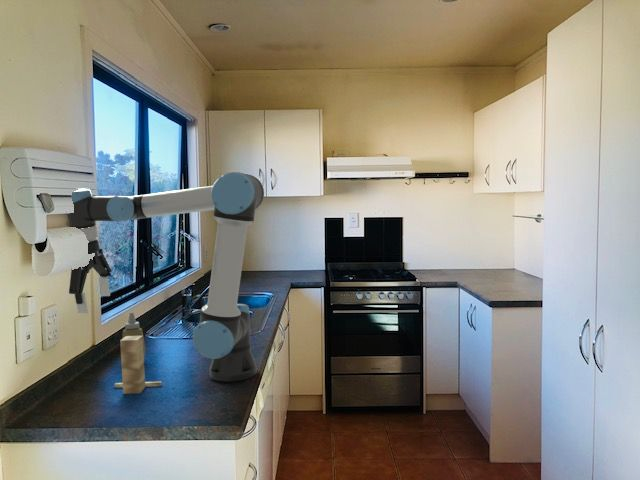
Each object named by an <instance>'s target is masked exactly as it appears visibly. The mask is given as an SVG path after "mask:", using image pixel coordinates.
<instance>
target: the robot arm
mask: <svg viewBox="0 0 640 480" xmlns="http://www.w3.org/2000/svg"><path fill="white" fill-rule="evenodd" d="M77 189H78V190H76V191H74V192H72V195H71V198H72V201H73V204H74V213H70V214H67V213H66V216H67V221H68V228H69V227H76V228H78V229H80V230H81V231H82V232H84V234H85V235H86V238H87V240H88V241H89V243H88V254H92V253H95V256H94V257H93V260H92V259H90V261H89V264H88V265H87V266H85V267H82V268H81V267H79V268H78V269H74V270H72V269H71V272H70V280H69V288H68V294H70V295H74V298H75V303H76V307H77V308H76V309H77V313H78V314H88V312H89V311H88V305H87V300H86V298H87V297H86V292H83V291H84V288H85V284H86V280H87V276H88V274H89V273H90V270H92V269H93V270H94V271H95V272H96V273H97V274H98V275H99V276H98V283H99V288H100V296H101V297H110V296H111V291H110V286H109V285H110V283H109V279H108V278H109V277H111V276H112V275H111V274H112V273H111V272H112V269H111V267H110V265H109V262H108V261H107V259H106V256H105V255H104V250H103V248H100V243H99V238H98V237H99V235H98V229H97V224H96V223H97V222H116V223H117V222H128V221H135V220H137V221H138V220H141V219H148V218H149V219H150V218H154V217H155V218H156V217H163V216H170V215H171V216H172V215H180V214H189V213H198V212H199V213H200V212H207V211H213V215H212V216H213V218H214V219H215V221H216V222H217V228H216V229H217V230H216V234H215V235H216V236H215V244H214V251H213V258H212V265H211V273H210V274H211V275H210V281H209V288H208V296H207V303H206V304H205V305H203V306H202V307H201V310H200V317H199V323H198V324H197V325H196V327H195V329H194V331H193V333H192V343H193V346H194V348H195V349H196V350H197V351H198V353H199V354H200V355H202V356H203V357H204V358H207V359H212V360H211V364H210V366H209V377H210V379H212V380H213V381H217V382H227V383H228V382H229V383H230V382H232V383H233V382H238V381H239V382H240V381H246V380H248V379H251V378H253V377H255V375H257V373H258V369H257V363H256V361H255V358H254V356H253V352H252V347H251V322H250V321H251V320H250V317H251V316H250V315H251V313H250V307H249V305H248V304H245V303H238V301H239V300H238V299H239V293H240V292H239V291H240V285H241V277H242V269H243V265H244V264H243V263H244V257H245V247H246V242H247V233H248V227H249V226H250V225H252V224H253V223H254V221H255V220H254V219H255V214H256V210H257V209H258V208H259V207H260V206H261V205H262V204H263V201H264V198H265V188H264V186H263V184H262V182H261V181H260V180H259V179H258V178H257V177H255V176H254V175H252V174H246V173H243V172H239V171H238V172H237V171H232V172H226V173H224V174H222V175H221V176H219V177H218V178H217V179H216V180H215V182H214V183H213V185H209V186H201V187H200V186H199V187H194V188H186V189H179V190H170V191H169V190H168V191H163V192H155V193H148V194H140V195H131V196H125V195H124V196H123V195H107V196H106V195H104V196H102V195H101V196H99V195H98V196H97V195H93V194H92V191H91V189H90V188H77ZM88 227H90V228H88ZM81 228H84V229H81Z"/></svg>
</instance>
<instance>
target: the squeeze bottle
mask: <svg viewBox="0 0 640 480" xmlns="http://www.w3.org/2000/svg"><path fill="white" fill-rule="evenodd" d="M124 326H125V329H123V330H122V339H123V338H124V337H126V336H143V351H144V357H146V353H147V352H146V344H145V338H144V333H143V331H144V330H143V328H141V327H140V322H139V321H137V320H136V317H135V313H134V312H129V317H128V322H126V323H125V324H124ZM122 339H121V340H122Z"/></svg>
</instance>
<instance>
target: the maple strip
mask: <svg viewBox="0 0 640 480" xmlns="http://www.w3.org/2000/svg"><path fill="white" fill-rule="evenodd" d="M162 384H163V383H162V381H145V388H146V387H161V386H162ZM114 388H115V389H116V388H122V389H123V382H115V383H114Z"/></svg>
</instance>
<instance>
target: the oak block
mask: <svg viewBox="0 0 640 480" xmlns="http://www.w3.org/2000/svg"><path fill="white" fill-rule="evenodd" d="M143 337H144V335H143V336H126V337H124V338H123V339H120V341H119V343H120V345H119V346H120V361H121V376H122V377H121V378H122V379H121V380H122V382H121V383H123V387H122V393H123V395H125V394H126V395H127V394H141V393H142V392H143V391H144V389H145V388H146V387H145V382H146V375H145V356H144V351H143Z"/></svg>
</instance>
